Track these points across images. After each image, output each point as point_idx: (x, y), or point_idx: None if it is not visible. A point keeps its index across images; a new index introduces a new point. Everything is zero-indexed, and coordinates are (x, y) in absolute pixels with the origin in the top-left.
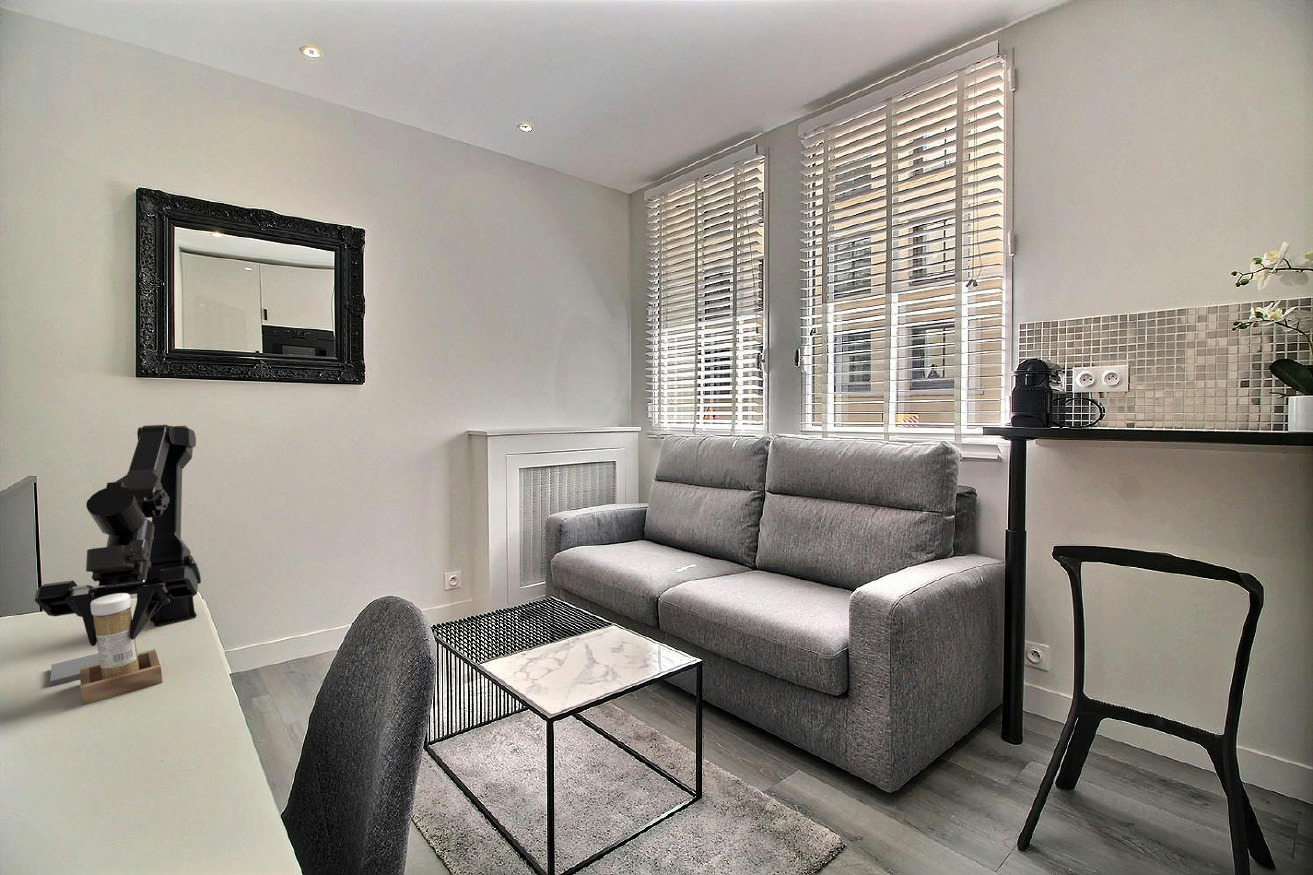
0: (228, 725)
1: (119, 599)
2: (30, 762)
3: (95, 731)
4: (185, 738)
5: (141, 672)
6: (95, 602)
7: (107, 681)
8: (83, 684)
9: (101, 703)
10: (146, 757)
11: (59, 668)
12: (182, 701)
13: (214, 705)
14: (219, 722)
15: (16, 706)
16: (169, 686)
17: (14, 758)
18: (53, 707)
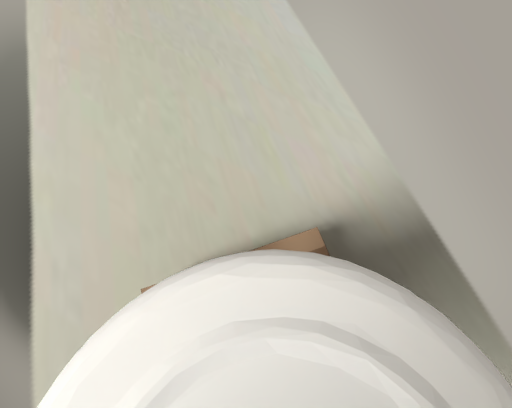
0: (36, 38)
1: (100, 351)
2: (294, 48)
3: (234, 103)
4: (94, 27)
5: None
6: (449, 370)
7: (263, 247)
8: (321, 251)
9: (269, 226)
10: (139, 2)
11: None
12: (106, 156)
13: (51, 112)
14: (47, 52)
15: (477, 311)
16: (140, 254)
17: (326, 68)
18: (373, 257)
